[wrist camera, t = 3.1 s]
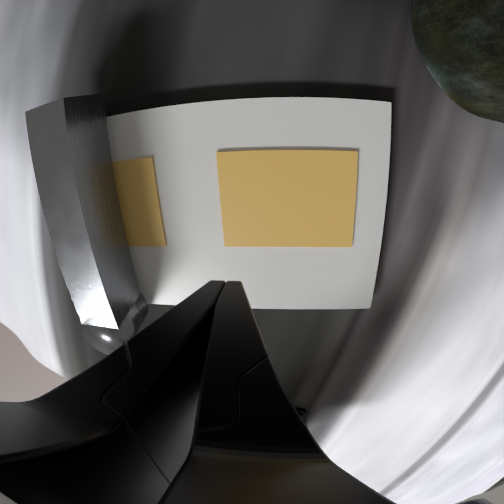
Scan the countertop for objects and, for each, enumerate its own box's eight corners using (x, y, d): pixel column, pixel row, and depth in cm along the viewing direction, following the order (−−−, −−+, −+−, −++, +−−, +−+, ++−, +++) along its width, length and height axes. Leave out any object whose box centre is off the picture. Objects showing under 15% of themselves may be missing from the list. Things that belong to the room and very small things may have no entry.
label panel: (366, 307, 23) (369, 320, 21) (83, 297, 25) (75, 306, 24) (386, 101, 16) (394, 102, 14) (41, 133, 19) (28, 137, 17)
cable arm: (152, 323, 23) (133, 359, 20) (114, 319, 24) (92, 352, 20) (107, 92, 15) (67, 96, 12) (63, 105, 16) (22, 113, 12)
